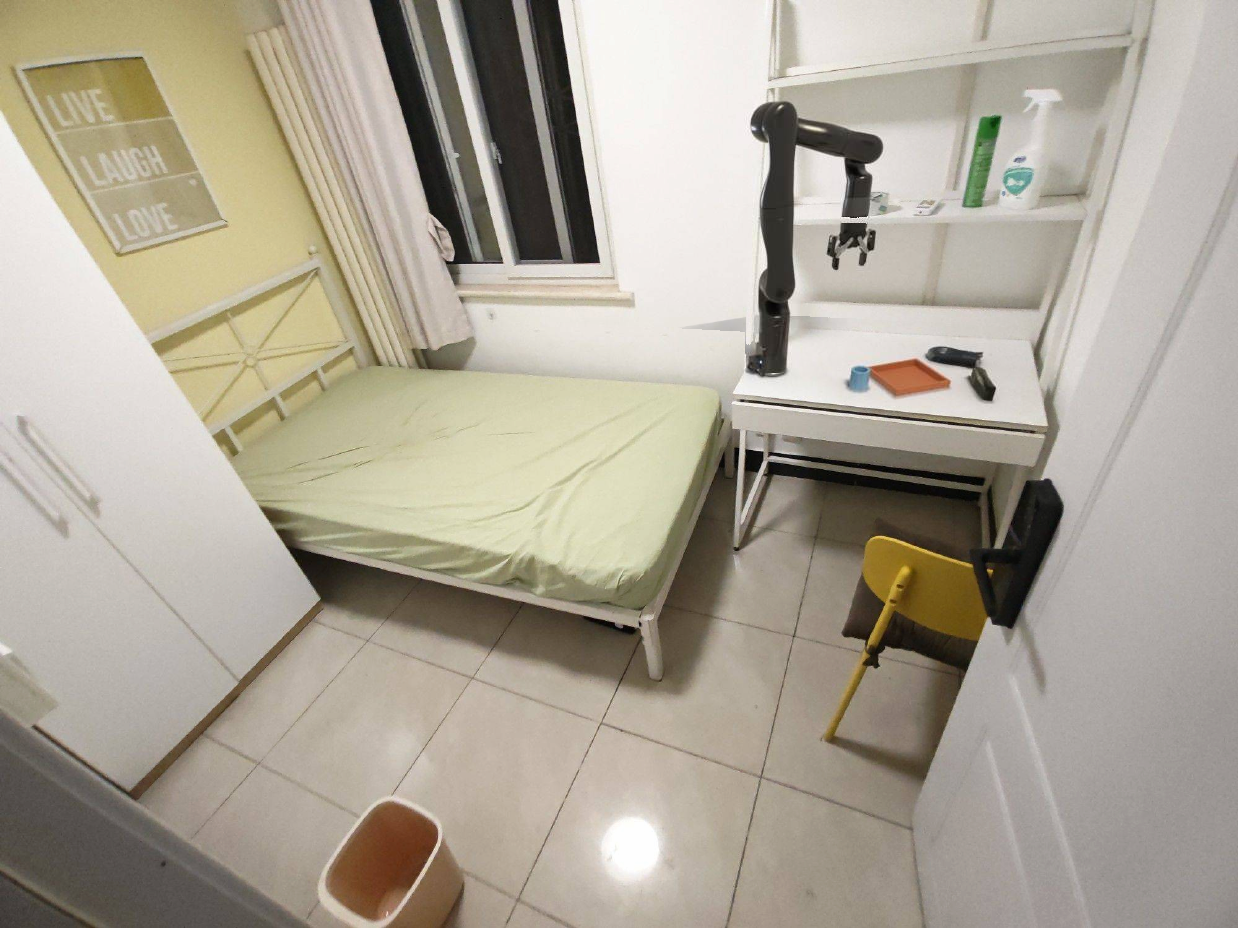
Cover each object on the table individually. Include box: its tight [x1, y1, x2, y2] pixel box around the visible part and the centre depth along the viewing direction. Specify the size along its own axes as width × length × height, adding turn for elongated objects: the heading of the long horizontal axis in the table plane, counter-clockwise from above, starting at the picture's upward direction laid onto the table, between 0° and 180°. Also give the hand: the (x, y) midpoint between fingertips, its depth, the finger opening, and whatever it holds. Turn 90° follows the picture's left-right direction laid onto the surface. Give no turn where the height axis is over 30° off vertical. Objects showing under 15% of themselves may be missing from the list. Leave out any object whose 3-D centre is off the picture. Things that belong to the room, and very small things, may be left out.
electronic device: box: [926, 345, 984, 368], centre depth 176 cm, size 9×6×15 cm
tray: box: [867, 358, 952, 397], centre depth 169 cm, size 17×17×2 cm
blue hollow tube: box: [848, 365, 870, 392], centre depth 167 cm, size 5×5×6 cm
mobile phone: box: [967, 366, 997, 402], centre depth 159 cm, size 5×3×15 cm
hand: (848, 267), depth 175 cm, fingers open, 8 cm apart
